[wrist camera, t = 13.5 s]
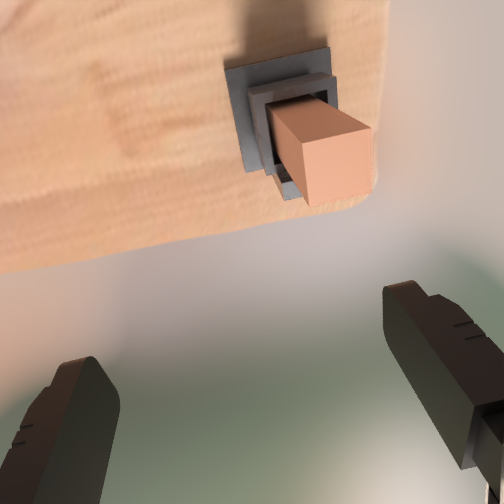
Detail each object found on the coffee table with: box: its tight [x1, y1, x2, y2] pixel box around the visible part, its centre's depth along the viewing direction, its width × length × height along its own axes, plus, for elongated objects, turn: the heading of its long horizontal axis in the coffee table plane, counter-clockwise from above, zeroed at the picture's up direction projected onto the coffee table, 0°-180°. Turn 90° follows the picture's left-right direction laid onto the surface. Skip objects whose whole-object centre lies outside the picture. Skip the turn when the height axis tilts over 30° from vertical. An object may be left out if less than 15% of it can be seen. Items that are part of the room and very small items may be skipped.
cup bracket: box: [224, 47, 338, 201], centre depth 32 cm, size 10×10×10 cm
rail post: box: [266, 94, 372, 207], centre depth 27 cm, size 4×4×14 cm
